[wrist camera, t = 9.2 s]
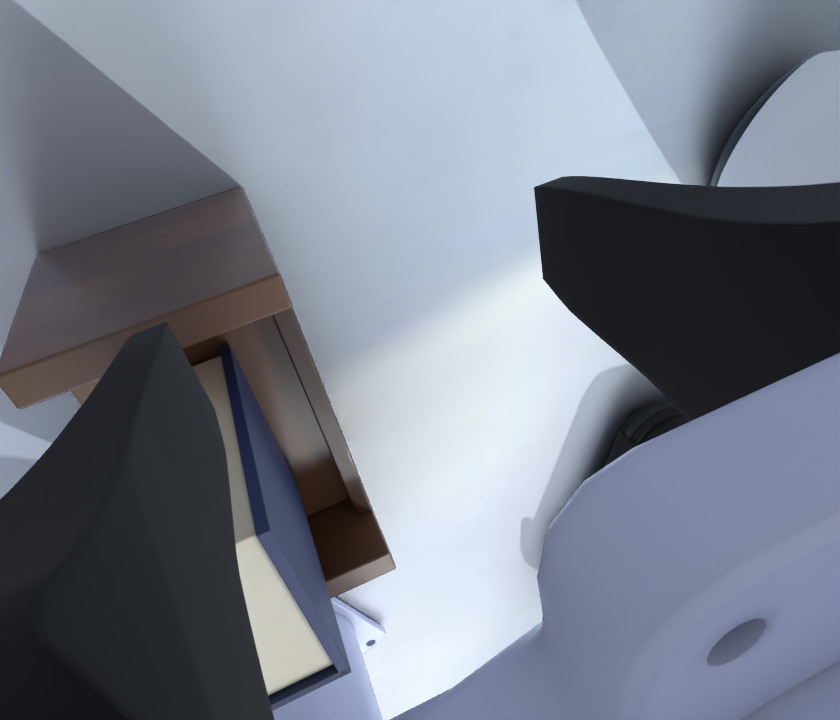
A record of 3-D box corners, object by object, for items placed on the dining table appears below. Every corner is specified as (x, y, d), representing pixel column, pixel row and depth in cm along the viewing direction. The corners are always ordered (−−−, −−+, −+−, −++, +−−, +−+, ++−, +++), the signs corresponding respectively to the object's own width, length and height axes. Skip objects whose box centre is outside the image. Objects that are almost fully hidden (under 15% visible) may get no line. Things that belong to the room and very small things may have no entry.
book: (212, 513, 21) (239, 727, 15) (127, 381, 18) (119, 595, 12) (295, 478, 22) (352, 672, 16) (229, 342, 18) (270, 529, 12)
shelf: (200, 505, 26) (215, 653, 20) (35, 254, 19) (-10, 377, 13) (345, 444, 27) (397, 569, 21) (241, 185, 20) (279, 272, 14)
